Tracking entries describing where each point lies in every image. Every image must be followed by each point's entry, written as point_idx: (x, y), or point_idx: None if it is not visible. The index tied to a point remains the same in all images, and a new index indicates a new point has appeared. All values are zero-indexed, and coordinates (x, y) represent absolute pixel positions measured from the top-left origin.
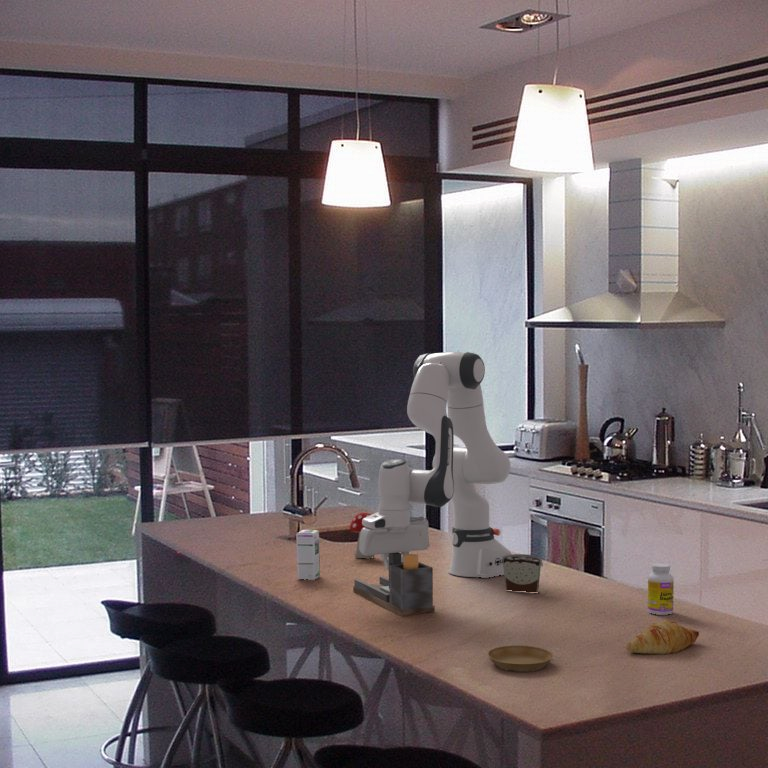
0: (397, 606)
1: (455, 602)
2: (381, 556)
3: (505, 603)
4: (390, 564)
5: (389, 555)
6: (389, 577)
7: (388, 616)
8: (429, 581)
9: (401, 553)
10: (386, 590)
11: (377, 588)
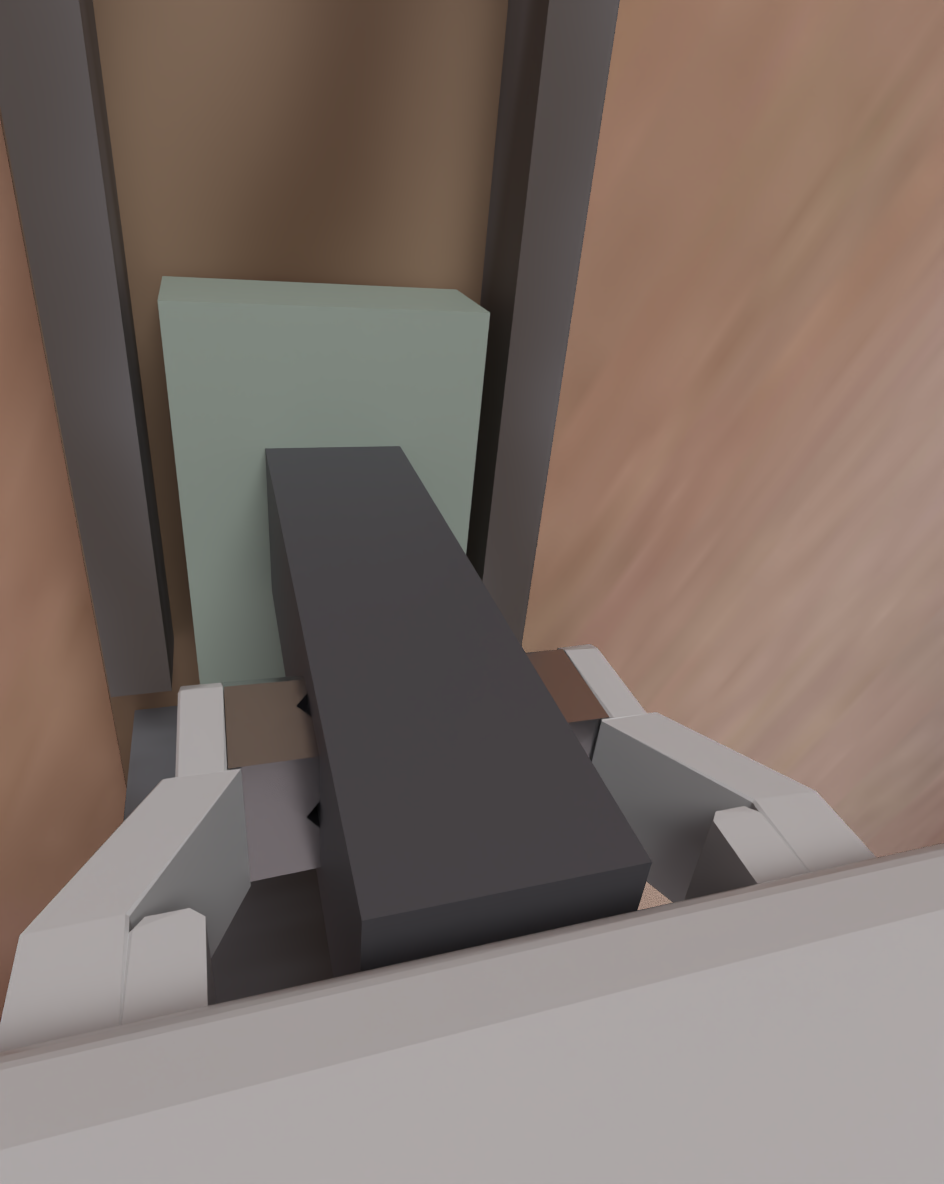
0: None
1: (759, 636)
2: (26, 973)
3: (937, 749)
4: (270, 854)
5: (344, 900)
6: (282, 550)
7: (35, 872)
8: None
9: (717, 850)
10: (184, 537)
11: (112, 274)
